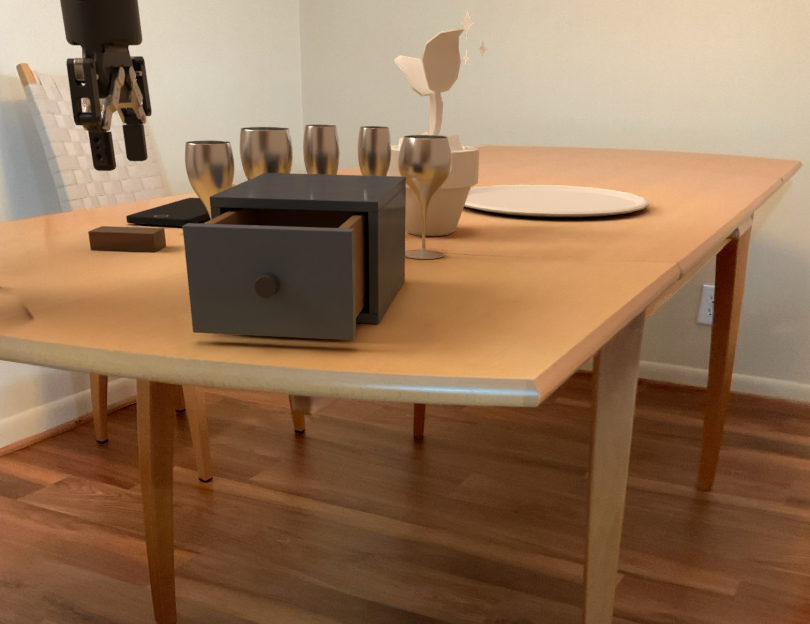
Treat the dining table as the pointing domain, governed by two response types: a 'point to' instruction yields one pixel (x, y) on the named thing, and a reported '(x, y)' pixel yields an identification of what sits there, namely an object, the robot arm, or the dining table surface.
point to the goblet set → (322, 161)
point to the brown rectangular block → (127, 239)
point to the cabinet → (339, 194)
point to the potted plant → (431, 80)
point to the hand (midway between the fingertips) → (122, 165)
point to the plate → (553, 201)
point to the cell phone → (172, 214)
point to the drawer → (278, 272)
